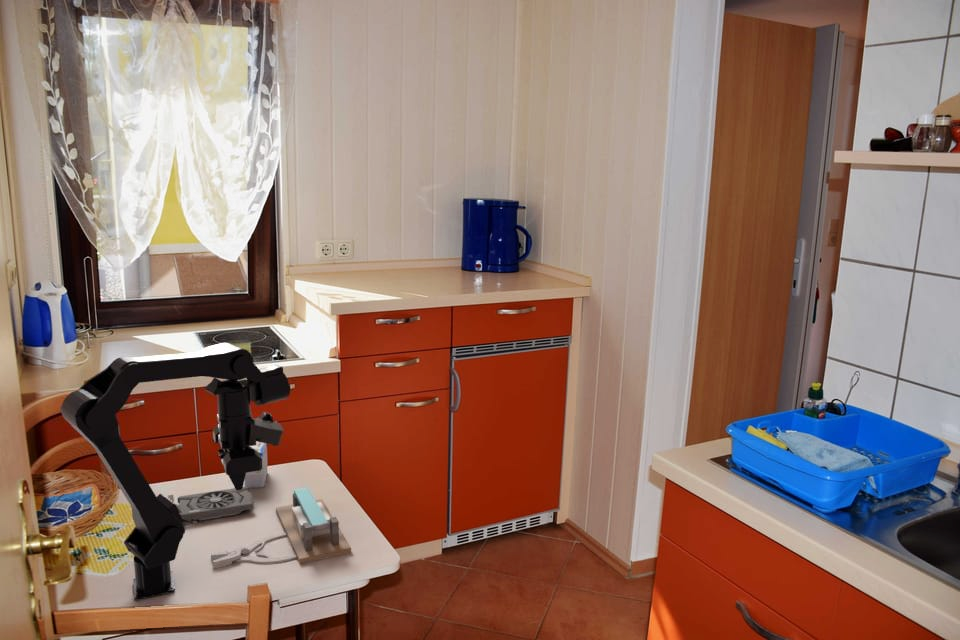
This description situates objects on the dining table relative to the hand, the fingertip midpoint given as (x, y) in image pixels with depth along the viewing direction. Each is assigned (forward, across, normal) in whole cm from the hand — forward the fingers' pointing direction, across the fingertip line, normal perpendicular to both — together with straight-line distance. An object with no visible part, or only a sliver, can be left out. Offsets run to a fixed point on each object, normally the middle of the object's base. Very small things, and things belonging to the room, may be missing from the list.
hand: (238, 488), depth 141 cm
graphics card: (+14, +18, +3) cm, 23 cm away
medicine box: (+13, +30, -8) cm, 34 cm away
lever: (+8, +2, -14) cm, 16 cm away
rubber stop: (+13, +10, -14) cm, 21 cm away
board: (+13, +2, -14) cm, 19 cm away
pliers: (+14, -2, -2) cm, 14 cm away
